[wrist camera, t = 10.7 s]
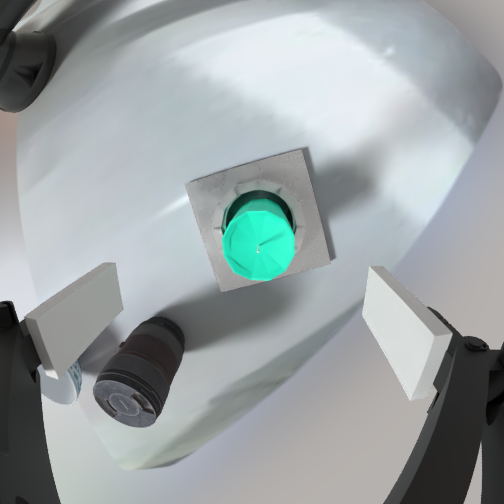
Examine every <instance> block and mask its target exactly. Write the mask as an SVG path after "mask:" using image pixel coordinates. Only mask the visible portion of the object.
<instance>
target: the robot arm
mask: <svg viewBox="0 0 504 504" xmlns="http://www.w3.org/2000/svg"><path fill="white" fill-rule="evenodd" d="M36 1H37V0H0V110H2V111H5V112H12V113H16V112H20V111H22V110H23V109H25V108H26V107H27V106H29V105H30V104H31V103H32V102H33V101H34V99H35V98H36V97H37V96H38V94H39V93H40V91H41V90H42V88H43V87H44V85H45V83H46V81H47V79H48V77H49V75H50V72H51V70H52V67H53V64H54V60H55V55H56V43H55V40H54V38H53V37H52V36H50V35H48V34H46V33H44V32H41V31H34V32H14V31H12V30H13V28H14V27H15V26H16V25H17V23H18V22H19V21H20V20H21V18H22V17H23V16H24V15H25V14H26V13H27V11H28V10H29V9H30V8H31V7H32V6H33V5H34V4H35V2H36ZM122 310H123V304H122V299H121V294H120V288H119V282H118V276H117V269H116V263H107V262H104V263H102V264H101V265H99V266H98V267H96V268H95V269H93V270H91V271H90V272H88V273H87V274H85V275H84V276H82V277H81V278H79V279H78V280H76V281H75V282H73V283H72V284H70V285H69V286H67V287H66V288H64V289H63V290H61V291H60V292H58V293H57V294H55V295H54V296H52V297H51V298H49V299H48V300H47V301H45V302H44V303H42V304H41V305H40V306H38V307H37V308H35V309H34V310H33V311H31V312H30V313H28V314H27V315H26V316H25V317H24V318H25V319H24V320H22V321H21V322H20V323H19V320H18V317H17V314H16V311H15V308H14V304H13V302H11V301H2V302H0V504H61V503H60V499H59V496H58V493H57V489H56V485H55V481H54V477H53V473H52V469H51V464H50V459H49V454H48V449H47V443H46V436H45V429H44V422H43V412H42V402H41V384H40V374H39V371H38V369H37V368H38V367H39V366H40V365H41V364H42V366H43V368H44V371H45V373H46V375H47V376H50V377H53V378H55V379H58V380H59V379H60V378H61V377H62V376H63V375H64V373H65V372H66V371H67V370H68V369H69V368H70V367H71V365H72V364H73V363H74V362H75V361H76V360H77V359H78V358H79V356H80V355H81V354H82V353H83V352H84V351H85V350H86V349H87V348H88V346H89V345H90V344H91V343H92V342H93V341H94V340H95V339H96V338H97V337H98V336H99V334H100V333H101V332H102V331H103V330H104V329H105V328H106V327H107V326H108V325H109V324H110V323H111V322H112V321H113V319H114V318H115V317H116V316H117V315H118V314H119V313H120V312H121V311H122ZM362 316H363V318H364V319H365V321H366V323H367V324H368V326H369V328H370V330H371V331H372V333H373V335H374V336H375V338H376V340H377V342H378V343H379V345H380V347H381V348H382V350H383V352H384V354H385V356H386V357H387V359H388V361H389V363H390V364H391V366H392V368H393V370H394V372H395V374H396V375H397V377H398V379H399V381H400V383H401V385H402V386H403V388H404V390H405V392H406V394H407V395H408V398H409V400H410V401H412V400H417V399H421V398H426V397H427V396H428V394H429V392H430V390H431V388H432V386H433V385H434V386H435V388H436V389H437V393H436V395H435V398H434V400H433V402H432V404H431V406H430V407H429V410H428V411H427V413H428V416H427V419H426V421H425V424H424V426H423V428H422V431H421V433H420V436H419V438H418V440H417V442H416V444H415V447H414V449H413V451H412V453H411V455H410V457H409V459H408V461H407V463H406V465H405V467H404V469H403V471H402V473H401V475H400V476H399V478H398V480H397V482H396V483H395V485H394V487H393V489H392V490H391V492H390V494H389V495H388V497H387V499H386V500H385V502H384V503H383V504H463V503H464V500H465V498H466V495H467V491H468V489H469V486H470V482H471V479H472V476H473V472H474V468H475V464H476V461H477V456H478V452H479V448H480V442H481V444H482V494H481V504H504V342H503V345H502V347H501V350H490V349H489V346H488V345H487V344H486V343H485V342H484V341H483V340H481V339H479V338H476V337H472V336H464V337H463V336H462V335H461V334H460V333H459V332H458V331H457V330H456V329H455V328H454V327H453V326H452V325H451V324H448V321H447V320H446V319H444V318H443V317H442V316H441V315H440V314H439V313H438V312H437V311H436V310H434V309H432V308H430V307H426V306H425V305H424V304H423V303H422V302H421V301H420V300H419V299H418V298H417V297H416V296H415V295H414V294H413V293H412V292H410V291H409V290H408V289H407V288H406V287H405V286H404V285H403V284H402V283H401V282H400V281H399V280H397V279H396V278H395V277H394V276H393V275H392V274H391V273H390V272H389V271H388V270H387V269H385V268H384V267H383V266H369V273H368V281H367V288H366V294H365V301H364V307H363V313H362Z"/></svg>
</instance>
